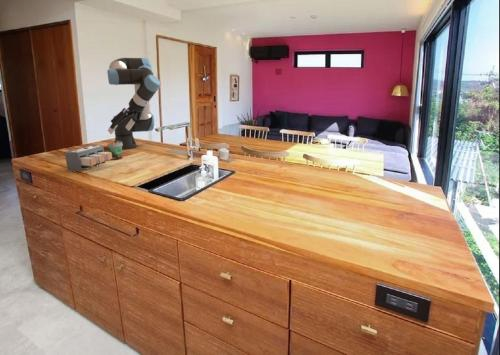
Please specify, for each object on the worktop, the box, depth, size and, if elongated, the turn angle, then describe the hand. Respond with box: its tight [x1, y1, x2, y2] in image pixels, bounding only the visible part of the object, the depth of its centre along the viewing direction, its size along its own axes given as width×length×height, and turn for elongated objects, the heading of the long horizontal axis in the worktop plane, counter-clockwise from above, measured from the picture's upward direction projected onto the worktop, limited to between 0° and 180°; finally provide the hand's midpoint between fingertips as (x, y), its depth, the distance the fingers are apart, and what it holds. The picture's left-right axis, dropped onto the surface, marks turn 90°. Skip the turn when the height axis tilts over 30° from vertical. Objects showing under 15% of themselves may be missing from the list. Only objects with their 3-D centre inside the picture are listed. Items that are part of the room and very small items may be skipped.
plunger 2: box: [98, 151, 112, 161], centre depth 186 cm, size 8×4×4 cm, turn 74°
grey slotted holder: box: [64, 144, 106, 172], centre depth 182 cm, size 8×19×10 cm, turn 164°
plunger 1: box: [80, 157, 96, 167], centre depth 174 cm, size 8×4×4 cm, turn 74°
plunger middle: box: [89, 154, 104, 164], centre depth 180 cm, size 8×4×4 cm, turn 74°
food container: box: [107, 141, 123, 161], centre depth 200 cm, size 12×6×10 cm, turn 179°
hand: (118, 130), depth 177 cm, fingers open, 13 cm apart
